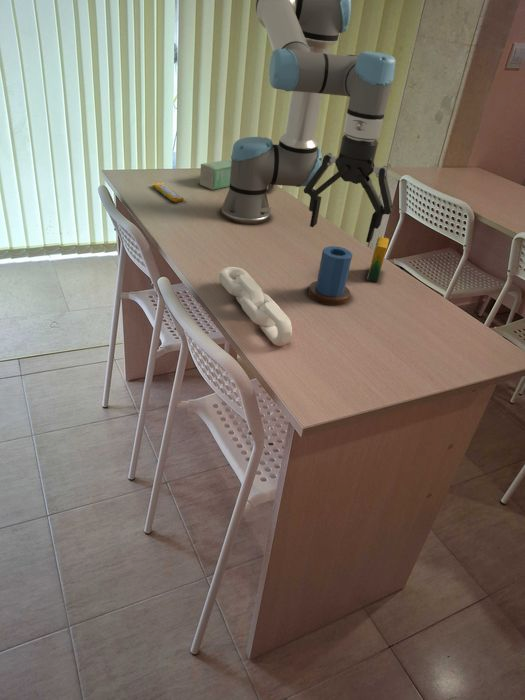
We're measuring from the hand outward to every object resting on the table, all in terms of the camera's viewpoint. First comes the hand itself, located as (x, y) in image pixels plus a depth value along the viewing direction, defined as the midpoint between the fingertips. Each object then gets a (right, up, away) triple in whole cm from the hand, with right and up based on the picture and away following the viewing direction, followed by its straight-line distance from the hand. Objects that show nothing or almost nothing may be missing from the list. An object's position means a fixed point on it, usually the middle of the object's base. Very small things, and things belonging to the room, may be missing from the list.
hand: (340, 232), depth 124 cm
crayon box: (+12, -7, +21) cm, 25 cm away
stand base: (-2, -13, +9) cm, 16 cm away
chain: (-20, -19, -3) cm, 28 cm away
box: (-33, +32, +70) cm, 84 cm away
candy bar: (-50, +24, +55) cm, 78 cm away
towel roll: (-2, -12, +8) cm, 15 cm away
